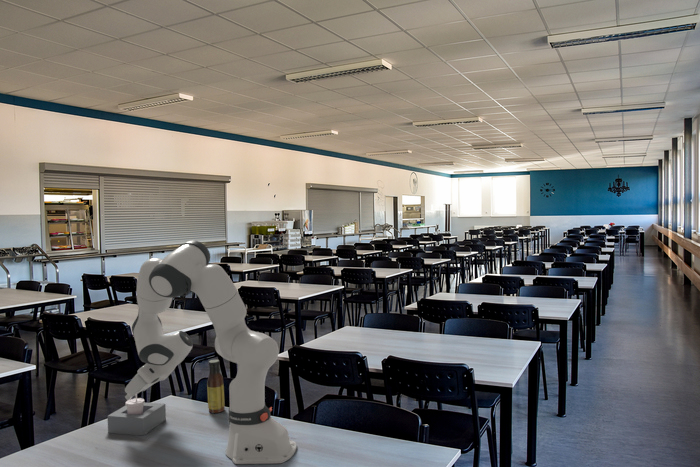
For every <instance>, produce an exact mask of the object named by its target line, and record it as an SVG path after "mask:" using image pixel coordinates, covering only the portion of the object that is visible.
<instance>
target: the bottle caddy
mask: <svg viewBox="0 0 700 467" xmlns="http://www.w3.org/2000/svg"><path fill="white" fill-rule="evenodd" d="M166 411H167V410H166V403H161V402H160V403H159V402H145V403H144V404H143V413H142V414H141V415H140V414H128V412H127V406H126V405H124V406H122V407H120V408H119V409H117V410H115V411H113V412H112V413H110V414H108V415H107V434H108V433H110V434H119V435H120V434H122V435H133V436H145V435H146V434H148V433H149V432H151V431H152V430H153V429H155V428H156V427H157V426H159V425H160V424H162V423H164V422H165V421H166V419H167V417H166V416H167V412H166Z"/></svg>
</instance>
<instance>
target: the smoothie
mask: <svg viewBox="0 0 700 467" xmlns="http://www.w3.org/2000/svg"><path fill="white" fill-rule="evenodd" d="M144 403H146V402H145V399H144V398H141V397H138V393H137V394H136V395H134V398H131V399H129V400H126V401H125V406H127V412H128V414H140V415H141V414H142V413H143V404H144Z"/></svg>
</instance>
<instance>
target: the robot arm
mask: <svg viewBox="0 0 700 467" xmlns="http://www.w3.org/2000/svg"><path fill="white" fill-rule="evenodd" d="M210 261H211V253H210V251H209V249H208V247H207V246H206V245H205V244H204V243H203V242H200V241H198V240H188V241H186V242H183V243H182V244H180V245H179V246H178V247H177V248H175V249H174V250H173V251H171V252H169V253H168V254H167V255H166V256H165V257H164V258H159V257H154V258H153V257H152V258H149V259H147V260H146V261H144V262H142V264H141V266H140V269H139V272H138V276H137V280H136V301H137V306H138V313H137V316H136V318H135V320H134V321H133V323H132V326H131V332H132V335H133V337H134V338H133V339H134V341H135V346H136V347H135V348H136V351H137V355H138V358H139V360H140V361H141V362H142V363H145V364H144V365H142V366H141V367H139V369H138V370H137V373H136V374H135V375H134V376H133V377H132V379H131V380H130V381H129V382H128V384H127V385H126V386H125V388H124V392H125V393H126V395H125V396H124V398H125V399H126V401H128V400H130V399H133V397H135V395H136V394H137V395H138V394H140V393H141V392H145V391H146V390H148V389H149V388H150V387H151V386H153V385H154V384H156V383H158V382H160V381H165V380H166V379H167V378H168V377H169V376H170V375H172V373H173V372H174V370H176V367H177V366H178V365H179V364H181V363H182V362H183V361H184V360H185V358H186V357H187V356H188V355H189V353H191V350H193V345H194V344H193V340H192V338H191V337H190V335H189V334H187V333H186V331H183V330H178V331H177V332H176V333H173V334H166V335H165V334H164V329H163V324H162V320H161V318H160V317H159V315H158V314H161V313H163V312H165V311H166V310H168V309H169V308H170V307H171V305H172V301H173V298H177V297H187V296H188V295H189V294H190V293H191V292H192V293H194V294H195V295H196V296H197V297H198V298H199V301H200V303H201V304H202V306H203V308H204V310H205V312H206V314H207V316H208V318H209V320H210V322H211V323H212V326H213V328H214V333H215V335H216V337H215V340H214V349H215V351H216V353H217V355H219V356H221V357H222V358H223V359H224V360H226V361H227V362H228V361H229V362H232V363H235V364H237V373H236V376H235V378H233V379H232V380H231V382H229V387H228V390H229V407H228V417H227V418H228V425H229V429H228V430H229V431H228V439H227V445H226V448H225V455H226V457H228V458H229V459H231V461H232V462H233V464H235V465H253V464H254V465H259V464H262V465H263V464H268V465H269V464H283V463H285V462H287V461H288V460H290V459H292V457H293V456H294V455H295V453H296V451H297V449H298V448H297V443H296V441H295V440H290V436H289V432H288V429H287V428H286V427H285V426H284V425H282V423H280V422H279V421H277V420H276V419H274V418H273V417H272V416H271V412H272V411H273V409H272V408H273V407H272V406H270V407H268V406H267V405H266V402H265V399H266V397H265V395H266V394H265V392H266V391H265V390H266V389H265V384H266V378H267V375H268V371H269V369H270V368H271V367H272V366H273V365H274V364H275V362H276V361H277V359H278V357H279V350H280V349H279V348H280V347H279V345H278V342H277V341H276V340H275V339H274V338H272V337H271V336H269V335H267V334H266V333H263V332H258V331H254V330H251V329H250V328H249V327H248V326H247V324H246V320H245V318H246V316H247V313H248V312H247V307H246V305H245V303H244V301H243V299H242V297H241V296H240V294H239V291H238V289H237V287H236V286H235V283H234V282H233V281H232V279H231V278H230V276H229V275H228V273H227V272H226V270H225V269H224V268H223V267H222V266H220V265H219V264H217V263H216V264H215V263H210Z"/></svg>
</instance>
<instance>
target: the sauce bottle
mask: <svg viewBox="0 0 700 467" xmlns="http://www.w3.org/2000/svg"><path fill="white" fill-rule="evenodd" d="M208 366H209V374H208V378H207V380H206V387H207V388H206V390H207V408H208V411H209V412H210V413H212V414H218V413H222V412H223V411H225V408H226V407H225V405H226V404H225V386H224V385H225V384H224V377H223V375H222V373H221V371H220V360H219V359H210V360H209V361H208Z"/></svg>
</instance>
